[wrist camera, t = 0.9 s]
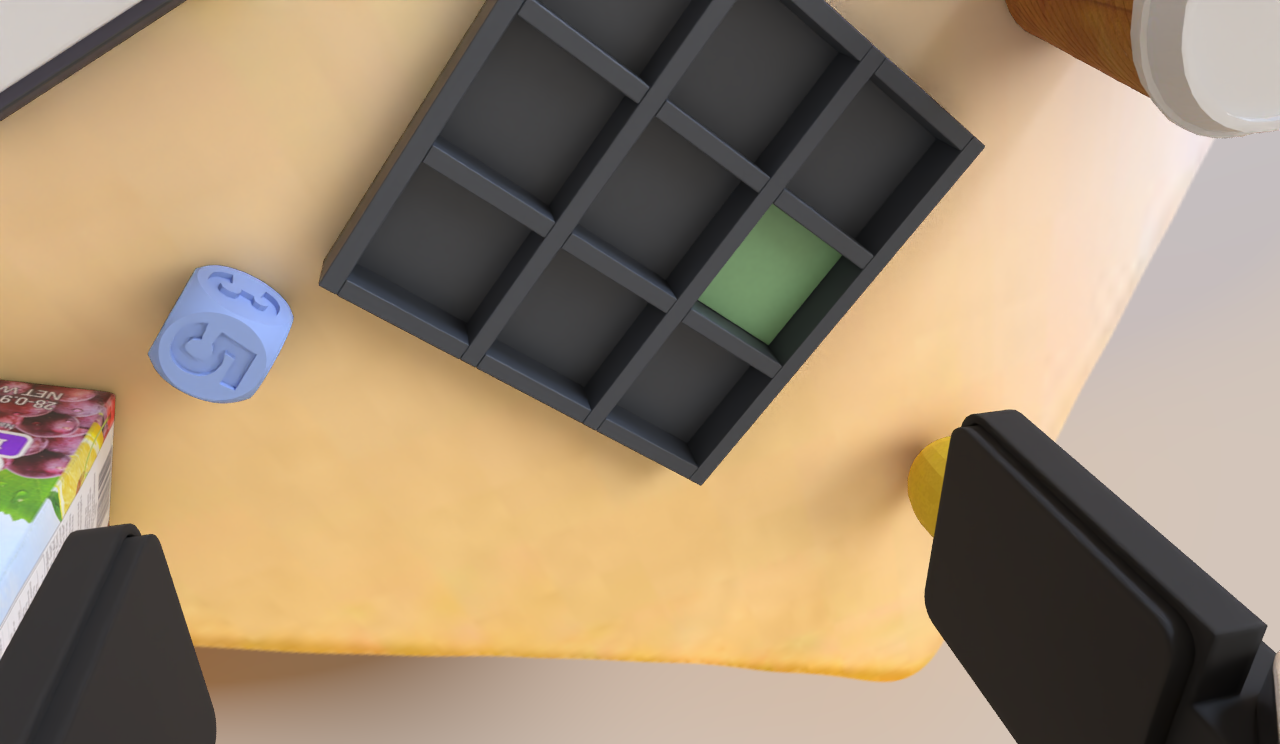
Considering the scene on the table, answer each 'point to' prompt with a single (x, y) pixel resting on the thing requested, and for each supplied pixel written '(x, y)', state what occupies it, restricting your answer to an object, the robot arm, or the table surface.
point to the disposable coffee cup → (1176, 54)
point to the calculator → (62, 40)
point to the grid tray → (648, 207)
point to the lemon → (928, 482)
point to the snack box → (48, 483)
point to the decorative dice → (221, 335)
